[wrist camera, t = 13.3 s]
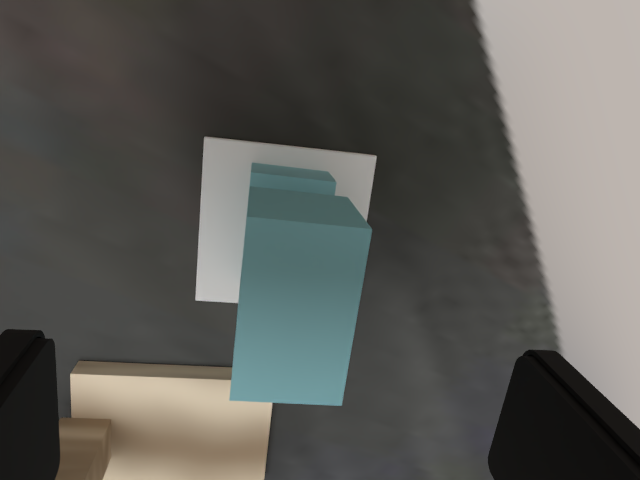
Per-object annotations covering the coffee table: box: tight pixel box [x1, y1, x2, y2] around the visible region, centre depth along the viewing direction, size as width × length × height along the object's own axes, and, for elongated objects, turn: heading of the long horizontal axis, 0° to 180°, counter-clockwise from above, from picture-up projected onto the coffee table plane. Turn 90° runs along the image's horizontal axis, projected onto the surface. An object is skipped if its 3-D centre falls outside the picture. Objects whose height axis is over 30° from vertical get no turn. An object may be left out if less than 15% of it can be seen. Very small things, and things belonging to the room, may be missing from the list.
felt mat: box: [195, 136, 377, 303], centre depth 24 cm, size 8×8×1 cm
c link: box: [229, 162, 372, 406], centre depth 20 cm, size 6×4×10 cm, turn 172°
